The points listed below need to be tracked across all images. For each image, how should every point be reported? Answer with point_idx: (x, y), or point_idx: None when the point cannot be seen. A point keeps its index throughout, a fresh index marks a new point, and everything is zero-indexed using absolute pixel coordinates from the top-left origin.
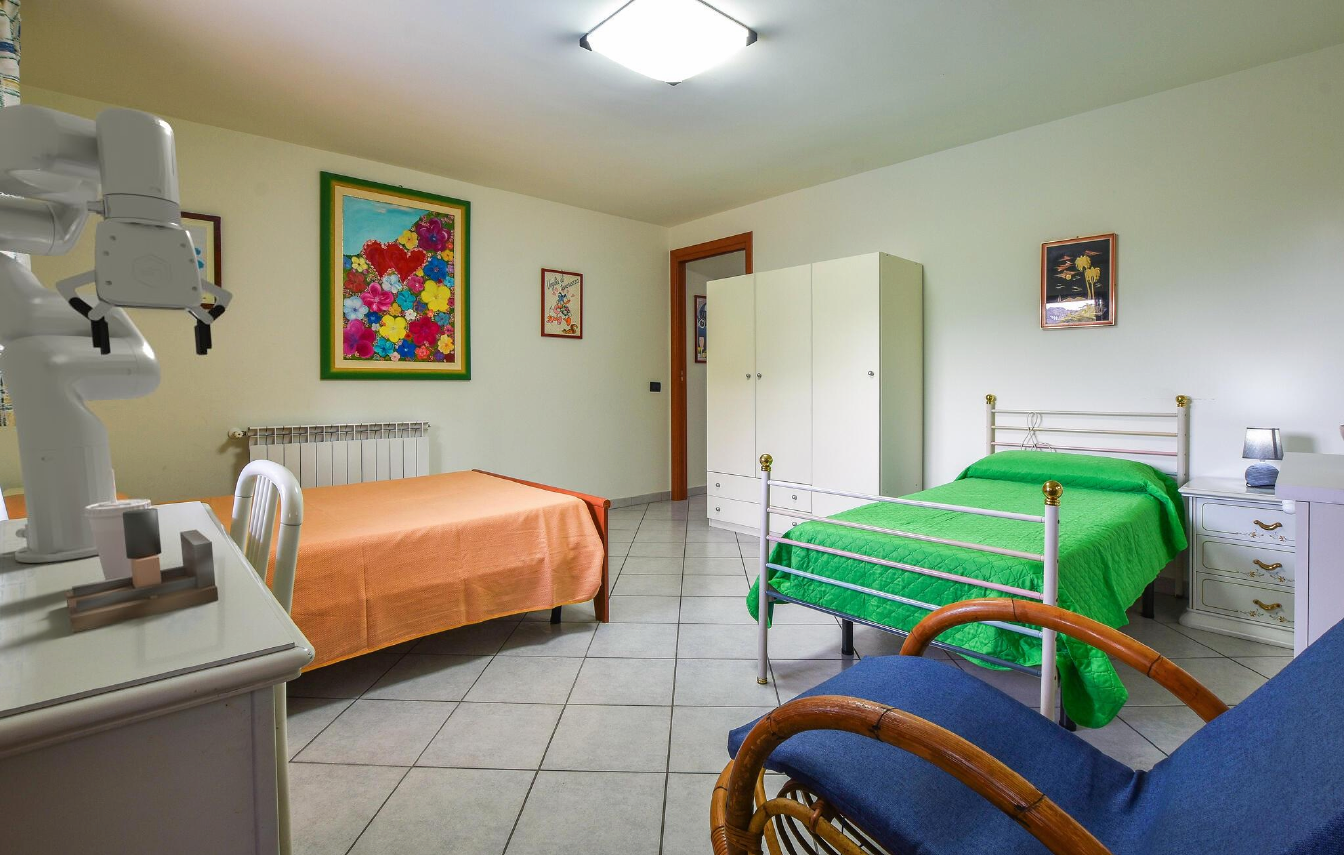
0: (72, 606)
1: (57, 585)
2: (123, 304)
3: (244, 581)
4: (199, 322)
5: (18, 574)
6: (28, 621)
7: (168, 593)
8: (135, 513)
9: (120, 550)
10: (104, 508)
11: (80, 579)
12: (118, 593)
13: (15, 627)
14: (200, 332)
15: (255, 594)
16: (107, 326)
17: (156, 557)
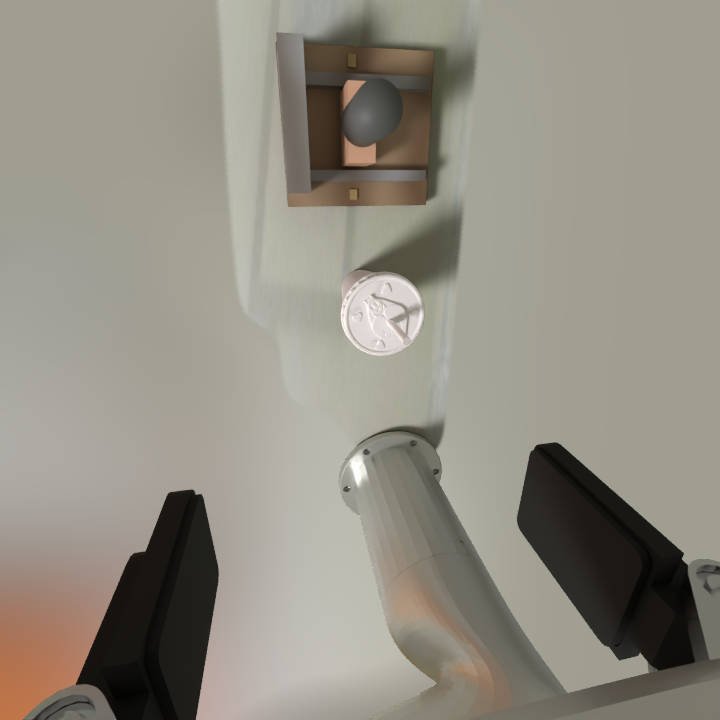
0: (427, 116)
1: None
2: (707, 660)
3: (235, 133)
4: (141, 712)
5: (441, 403)
6: (454, 166)
7: (334, 71)
8: (387, 84)
9: (374, 272)
10: (405, 282)
11: None
12: (389, 76)
13: (465, 150)
14: (163, 594)
15: (227, 29)
16: (625, 534)
17: (350, 81)
